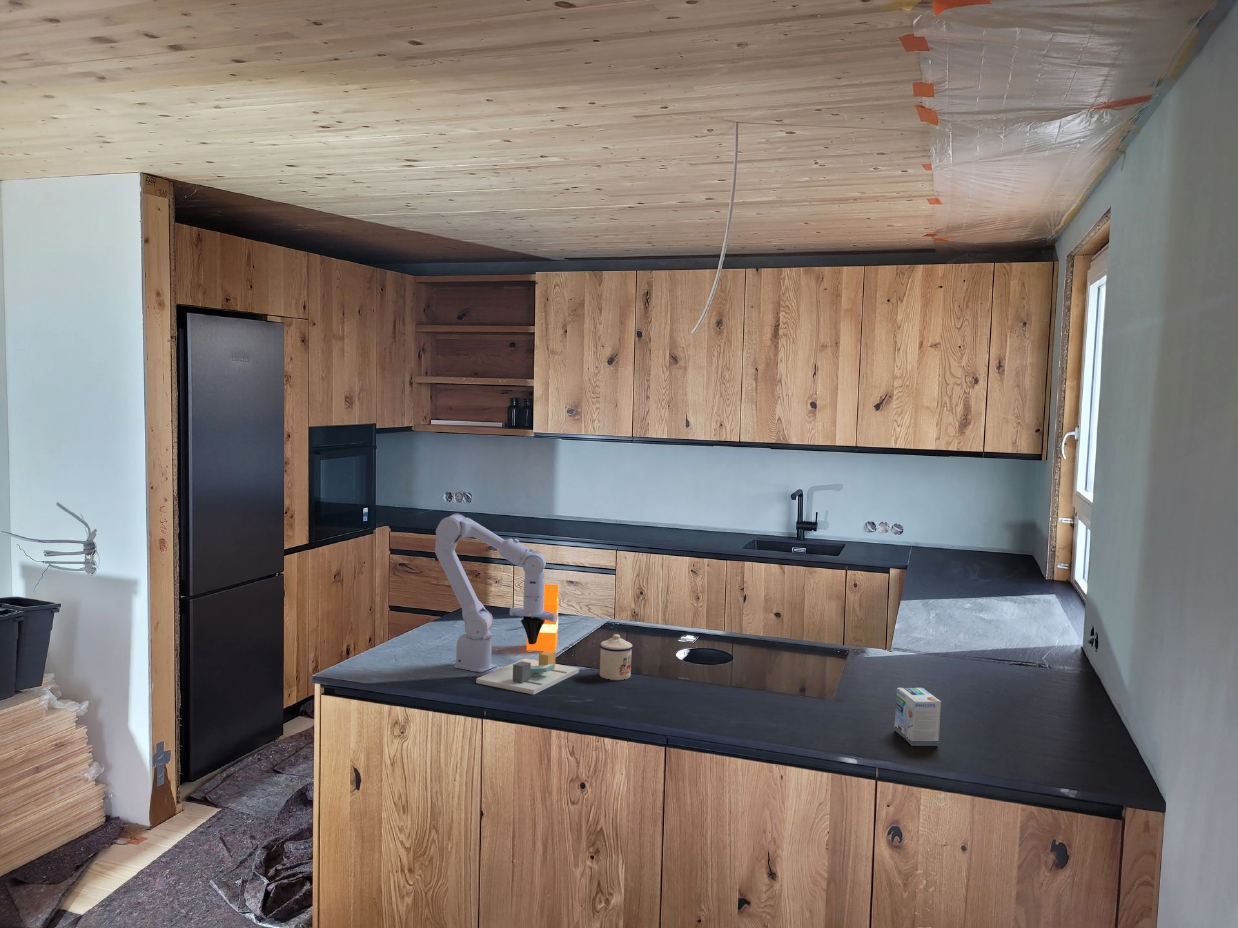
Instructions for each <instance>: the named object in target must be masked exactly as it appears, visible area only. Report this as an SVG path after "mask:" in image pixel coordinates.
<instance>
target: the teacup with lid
mask: <svg viewBox="0 0 1238 928" xmlns="http://www.w3.org/2000/svg"><path fill="white" fill-rule="evenodd" d="M599 648H600V655H599V656H600V657H599V658H600V659H599V663H600V664H599V676H600V677H601V678H602V679H604V678H605V680H608V679H610V680H609V681H623V680H624V679H625V680H628V679H629V678H631V674H632V673H631V672H632V650H633V644H632V643H631V642H629V641H627V640H625V639H623V638H621V635H620V634H618V633H617V634H616V633H615V634H613V635H612V637H611V638H609V639H606V640H603V641H601V643H600V644H599Z"/></svg>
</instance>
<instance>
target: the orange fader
mask: <svg viewBox="0 0 1238 928" xmlns="http://www.w3.org/2000/svg"><path fill="white" fill-rule="evenodd" d="M556 655H557V654H556V651H555V652H551V651H544V652H540V653H538V661H539V665H548V664H553V665H554V667H555V664H556Z"/></svg>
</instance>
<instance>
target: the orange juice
mask: <svg viewBox="0 0 1238 928" xmlns="http://www.w3.org/2000/svg"><path fill="white" fill-rule="evenodd" d="M559 601H560V600H559V584H545V583H544V611H547V612H551V613H555V614H557V621H555V622H551V621H548V620H545V622H544V624H543V625H542V627H541V629H540V632H539V635H538V638H537V642H536V644H533V645H532V644H529V643H528V638H527V637H526V651H527V650H537V651H551V652H556V651H555V650H557V648H556V647H558V630H559V629H558V628H559V603H560V602H559Z"/></svg>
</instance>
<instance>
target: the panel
mask: <svg viewBox="0 0 1238 928" xmlns="http://www.w3.org/2000/svg"><path fill="white" fill-rule="evenodd" d="M521 661H523V662H528V663H531V666H538V665H539V660H537V659H532V658H523V659H519V660H517V661H515V662H513V663H510V664H508V665H506V666H503V667H501V668H499V669H495V670H494V671H491V672H489V673H487V674H484V675H482V676H480V677H477V678H476V681H475V682H476V684H478V685H484V686H490V687H495V688H499V689H503V690H504V689H505V690H509V691H513V692H519V693H524V694H529V695H532V696H533V695H536V694H537V693H540V692H541V691H544V690H546V689H548V688H551V687H552V686H554V685H556V684H559V683H560V682H563V681H565V680H566V679H568V678H571V677H572V676H575V675H576V674H579V673H580V668H579V667H576V666H570V665H562V664H557V663H555V668H554V669H552V670H550V671H547V672H538V673H530V679H529V680H527V681H525V682H523V683H520V682H515V681H513V664H516V663H518V662H521Z"/></svg>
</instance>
